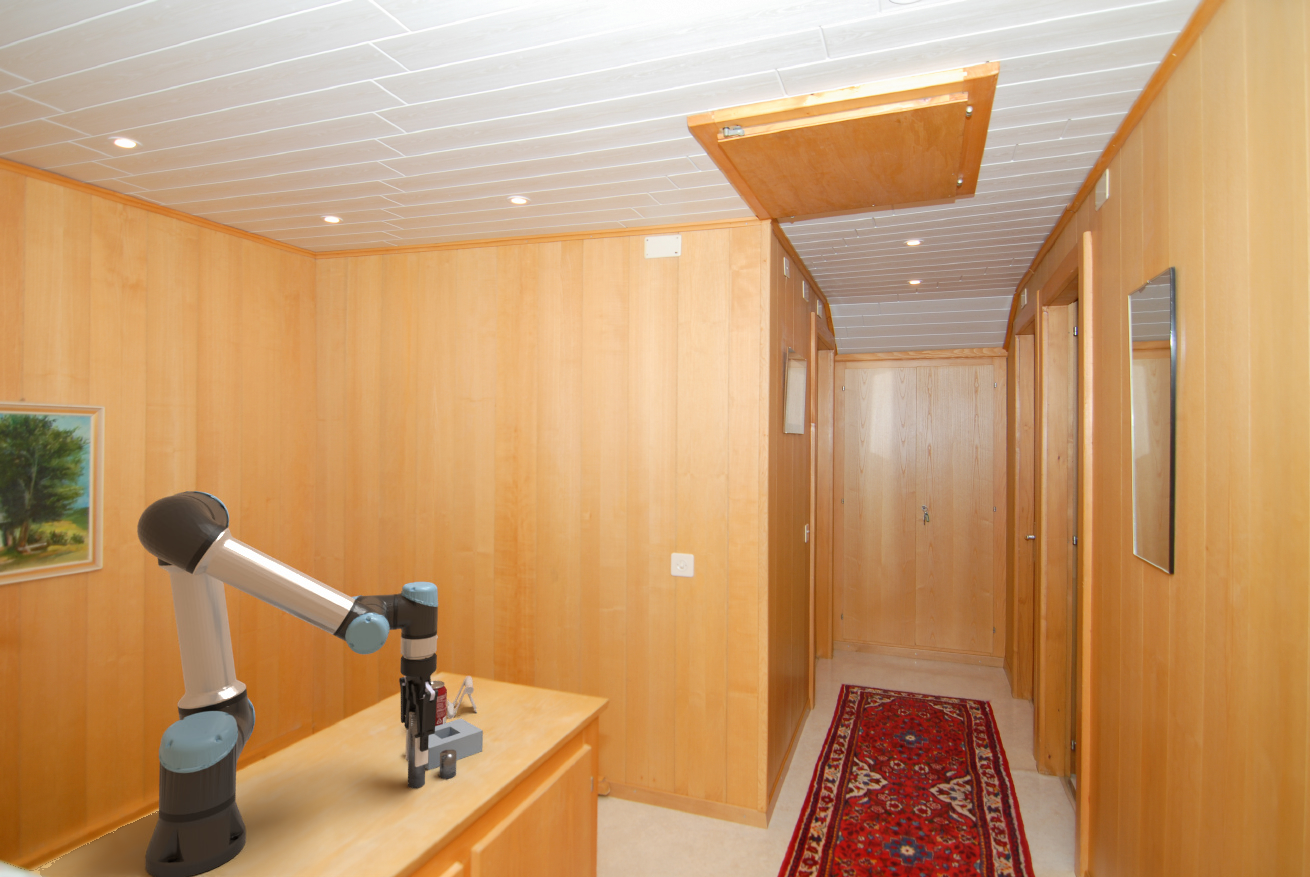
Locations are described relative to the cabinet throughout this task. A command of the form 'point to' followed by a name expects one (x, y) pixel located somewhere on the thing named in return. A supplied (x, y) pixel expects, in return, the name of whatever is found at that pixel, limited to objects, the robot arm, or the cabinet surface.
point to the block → (454, 741)
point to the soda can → (440, 702)
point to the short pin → (447, 764)
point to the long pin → (414, 773)
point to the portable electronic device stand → (467, 690)
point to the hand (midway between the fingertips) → (416, 760)
